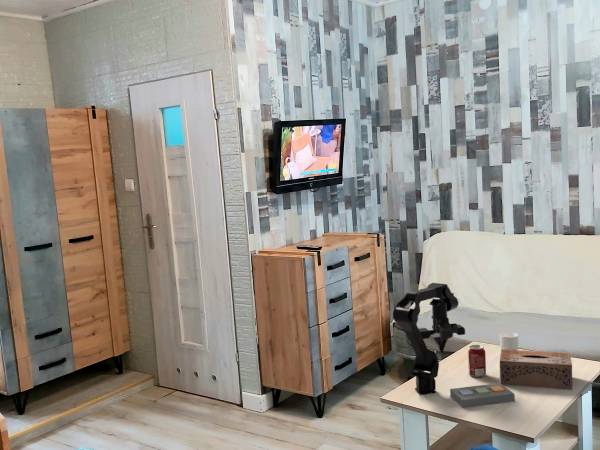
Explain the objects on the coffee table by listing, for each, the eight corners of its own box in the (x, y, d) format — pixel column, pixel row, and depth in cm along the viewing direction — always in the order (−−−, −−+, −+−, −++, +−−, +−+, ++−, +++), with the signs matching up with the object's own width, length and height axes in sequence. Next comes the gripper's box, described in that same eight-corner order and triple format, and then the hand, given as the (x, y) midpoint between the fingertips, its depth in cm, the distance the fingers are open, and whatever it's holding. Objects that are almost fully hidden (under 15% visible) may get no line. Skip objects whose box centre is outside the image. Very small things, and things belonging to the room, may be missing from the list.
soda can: (486, 378, 244) (486, 349, 242) (469, 378, 245) (468, 349, 244) (485, 372, 250) (484, 344, 249) (468, 372, 252) (467, 344, 250)
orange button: (494, 398, 222) (494, 390, 222) (489, 394, 226) (489, 386, 226) (504, 397, 223) (504, 389, 222) (499, 393, 227) (499, 385, 226)
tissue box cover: (500, 385, 236) (499, 360, 235) (501, 372, 250) (501, 349, 249) (572, 390, 227) (572, 364, 226) (570, 377, 241) (569, 352, 239)
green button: (479, 400, 221) (478, 392, 221) (474, 396, 225) (474, 388, 225) (489, 399, 222) (489, 391, 222) (484, 395, 226) (484, 387, 226)
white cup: (501, 359, 264) (501, 337, 263) (498, 353, 272) (498, 332, 271) (520, 359, 263) (520, 337, 262) (517, 353, 271) (516, 332, 270)
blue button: (463, 402, 220) (463, 394, 220) (459, 398, 224) (458, 390, 224) (474, 401, 221) (473, 393, 221) (469, 397, 225) (469, 389, 225)
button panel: (462, 408, 217) (462, 400, 216) (450, 396, 228) (450, 388, 227) (514, 401, 220) (514, 393, 219) (500, 390, 231) (499, 383, 230)
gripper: (424, 321, 231) (426, 361, 233) (470, 317, 234) (471, 356, 235) (414, 314, 242) (416, 352, 244) (458, 310, 245) (460, 347, 246)
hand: (441, 352), depth 242 cm, fingers closed
